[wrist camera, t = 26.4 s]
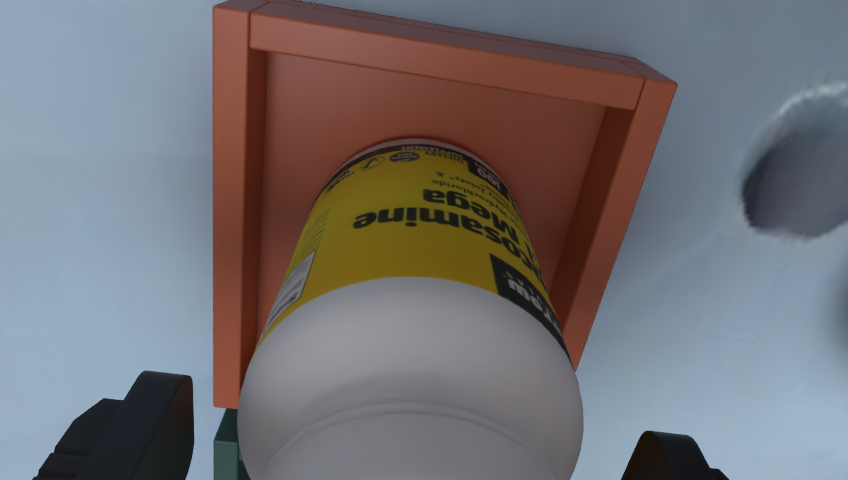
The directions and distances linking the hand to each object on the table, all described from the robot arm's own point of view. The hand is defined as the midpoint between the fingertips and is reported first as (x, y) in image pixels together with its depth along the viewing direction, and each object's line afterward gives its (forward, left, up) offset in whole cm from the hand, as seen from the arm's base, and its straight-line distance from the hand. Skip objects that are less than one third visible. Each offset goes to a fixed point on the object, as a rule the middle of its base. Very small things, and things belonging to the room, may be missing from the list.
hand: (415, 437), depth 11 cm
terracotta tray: (0, 0, -9) cm, 9 cm away
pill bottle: (0, 0, -8) cm, 8 cm away
